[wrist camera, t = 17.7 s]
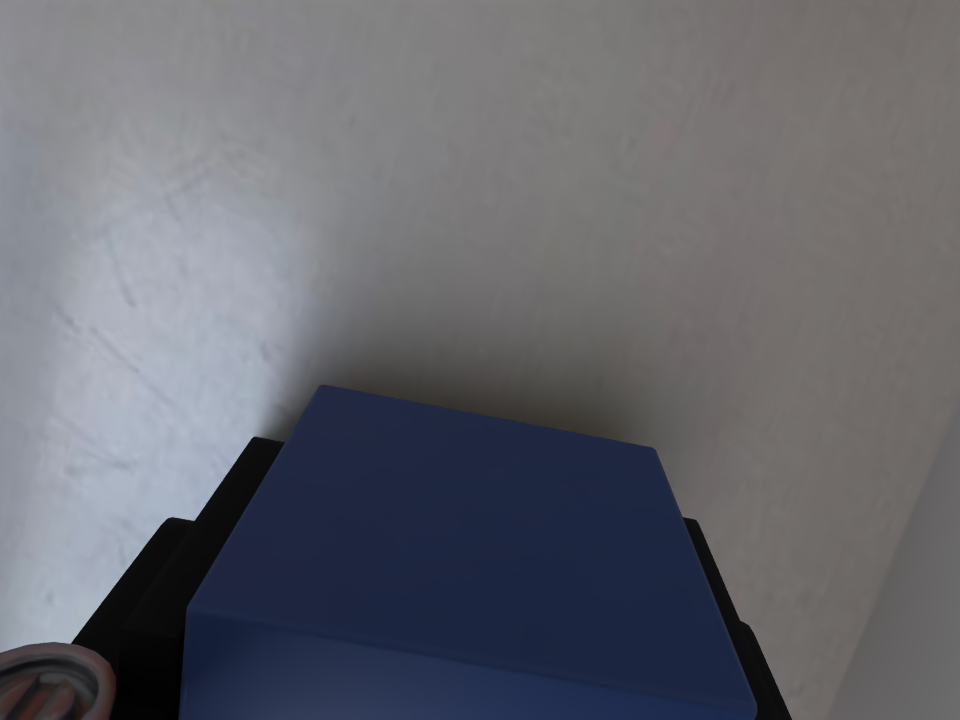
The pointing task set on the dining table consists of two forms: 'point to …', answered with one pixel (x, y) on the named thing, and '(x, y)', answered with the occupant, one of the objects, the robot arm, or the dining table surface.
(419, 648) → the blue block
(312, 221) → the dining table surface
